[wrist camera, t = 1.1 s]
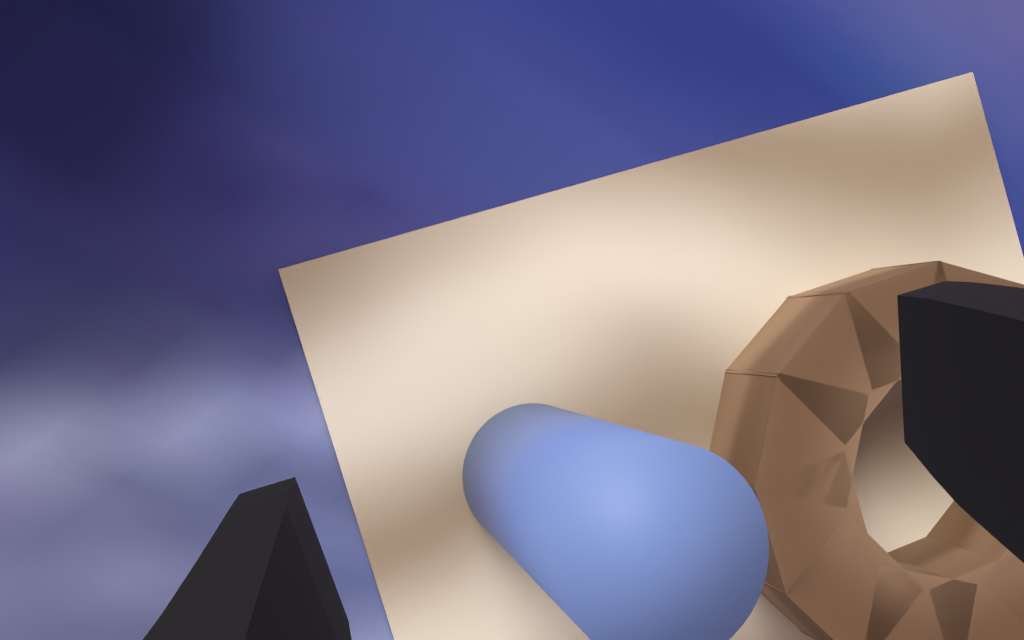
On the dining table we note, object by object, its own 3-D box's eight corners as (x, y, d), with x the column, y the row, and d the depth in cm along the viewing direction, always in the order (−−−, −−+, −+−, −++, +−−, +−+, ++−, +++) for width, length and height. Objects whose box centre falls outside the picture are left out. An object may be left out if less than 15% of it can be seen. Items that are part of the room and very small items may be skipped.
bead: (1074, 566, 24) (1161, 591, 22) (771, 698, 22) (828, 742, 20) (982, 231, 24) (1059, 219, 21) (664, 337, 22) (710, 336, 19)
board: (1095, 582, 25) (1114, 588, 24) (464, 861, 21) (468, 875, 21) (956, 78, 24) (972, 71, 24) (278, 271, 21) (278, 269, 20)
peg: (616, 517, 22) (794, 619, 14) (486, 565, 21) (595, 702, 13) (576, 384, 21) (734, 412, 14) (444, 429, 21) (529, 485, 13)
